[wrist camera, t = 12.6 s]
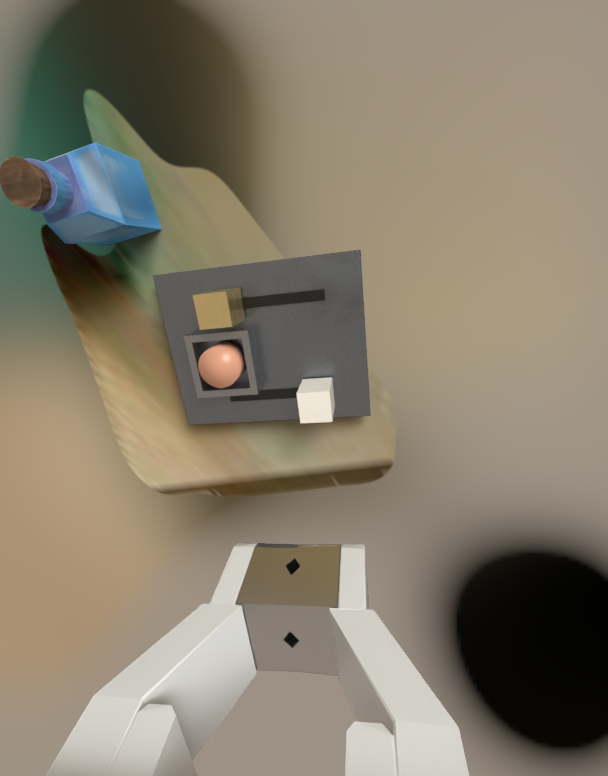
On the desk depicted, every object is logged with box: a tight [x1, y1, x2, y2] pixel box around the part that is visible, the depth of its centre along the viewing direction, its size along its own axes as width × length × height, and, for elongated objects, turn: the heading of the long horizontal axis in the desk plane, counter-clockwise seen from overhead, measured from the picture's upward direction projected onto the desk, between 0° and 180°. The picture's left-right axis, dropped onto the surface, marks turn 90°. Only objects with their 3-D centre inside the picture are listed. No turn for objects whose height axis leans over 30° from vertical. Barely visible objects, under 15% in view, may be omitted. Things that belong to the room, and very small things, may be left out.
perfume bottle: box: [0, 142, 162, 245], centre depth 31 cm, size 6×6×12 cm
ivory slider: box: [296, 377, 335, 423], centre depth 35 cm, size 3×3×4 cm
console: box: [153, 250, 370, 425], centre depth 37 cm, size 20×16×5 cm
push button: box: [198, 342, 246, 388], centre depth 36 cm, size 4×4×2 cm
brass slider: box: [193, 287, 245, 330], centre depth 33 cm, size 3×3×4 cm
